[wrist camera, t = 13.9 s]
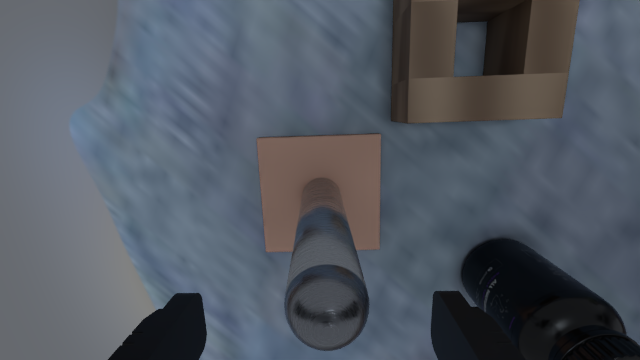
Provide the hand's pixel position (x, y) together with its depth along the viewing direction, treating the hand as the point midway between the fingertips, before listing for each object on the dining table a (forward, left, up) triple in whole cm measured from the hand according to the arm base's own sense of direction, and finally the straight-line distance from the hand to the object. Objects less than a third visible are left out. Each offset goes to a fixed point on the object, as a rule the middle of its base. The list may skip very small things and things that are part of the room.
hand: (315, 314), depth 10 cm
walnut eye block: (-11, -11, -16) cm, 22 cm away
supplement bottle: (-16, +8, -16) cm, 24 cm away
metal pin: (0, 0, -15) cm, 15 cm away
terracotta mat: (0, 0, -16) cm, 16 cm away
